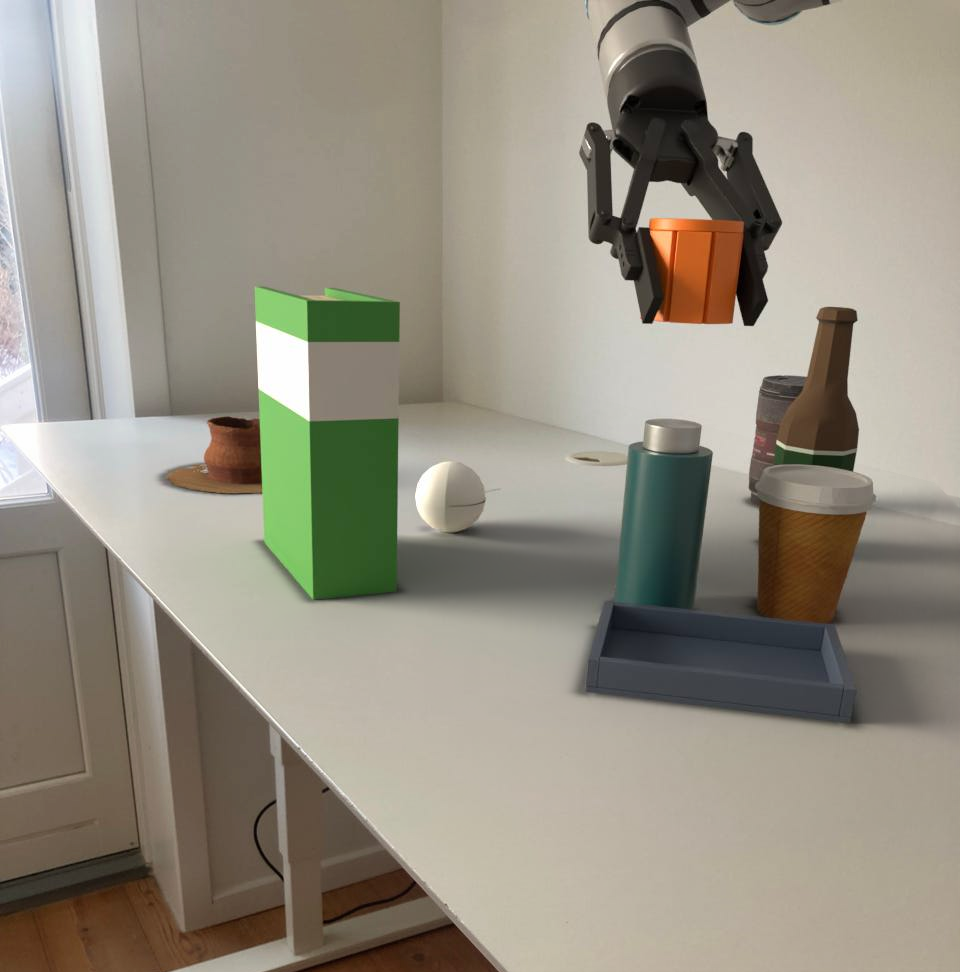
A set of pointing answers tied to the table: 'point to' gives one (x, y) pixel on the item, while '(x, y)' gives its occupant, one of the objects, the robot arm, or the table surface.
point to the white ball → (450, 496)
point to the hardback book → (330, 437)
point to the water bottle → (663, 515)
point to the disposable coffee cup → (807, 538)
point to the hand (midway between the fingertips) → (704, 311)
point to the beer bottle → (823, 401)
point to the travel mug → (770, 422)
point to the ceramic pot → (227, 459)
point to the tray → (721, 661)
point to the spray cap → (697, 268)
